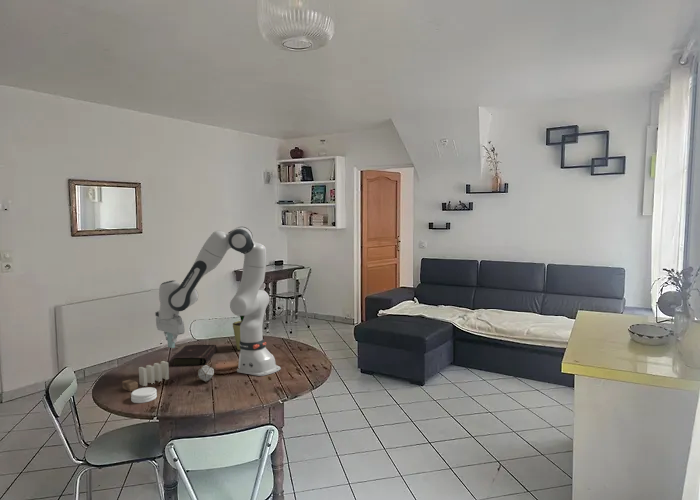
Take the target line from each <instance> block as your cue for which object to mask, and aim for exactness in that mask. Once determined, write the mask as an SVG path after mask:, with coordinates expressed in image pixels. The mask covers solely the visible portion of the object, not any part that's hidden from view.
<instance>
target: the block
mask: <svg viewBox="0 0 700 500" xmlns="http://www.w3.org/2000/svg"><path fill="white" fill-rule="evenodd" d="M122 389H123V390H126V391H128V392H130V393H132V392H133V391H134V390H137V389H139V381H138V382H137V381H135V380H133V379H127V380H122ZM131 391H132V392H131Z"/></svg>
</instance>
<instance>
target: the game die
mask: <svg viewBox="0 0 700 500" xmlns="http://www.w3.org/2000/svg"><path fill="white" fill-rule="evenodd" d="M215 370H216V368H213V367H212V365H208V364H206V365H205V364H204V365H203V366H202V365H201V366H199V369H197V370H196V372H197V376H196V379H200V381H201V382H205V384H207V383H208V381H210V380H213V377H216V374H215Z"/></svg>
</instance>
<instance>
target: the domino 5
mask: <svg viewBox="0 0 700 500" xmlns="http://www.w3.org/2000/svg"><path fill="white" fill-rule="evenodd" d="M172 338H173V335H172V333H168V332H167V340H166V342H167V348H170V349H174V348H176V342H172Z"/></svg>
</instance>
